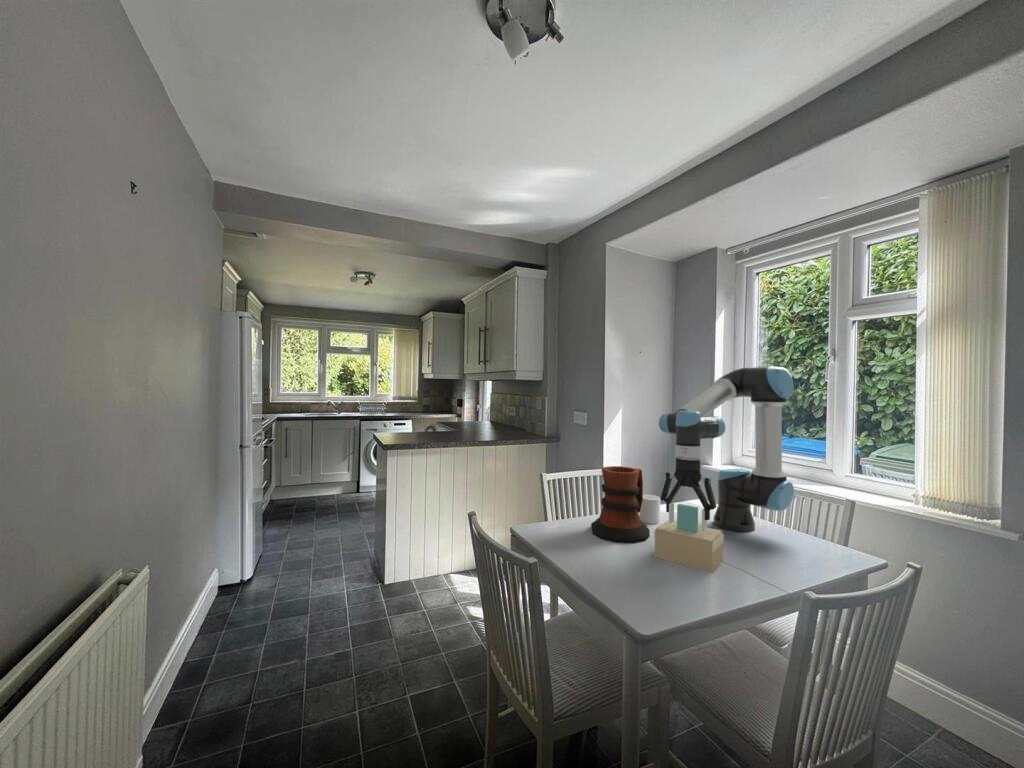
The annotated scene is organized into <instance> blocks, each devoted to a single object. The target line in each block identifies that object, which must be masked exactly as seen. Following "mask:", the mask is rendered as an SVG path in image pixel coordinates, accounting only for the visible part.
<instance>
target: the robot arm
mask: <svg viewBox="0 0 1024 768" xmlns="http://www.w3.org/2000/svg"><path fill="white" fill-rule="evenodd" d="M794 386H795V385H794V380H793V377H792V375H791V373H790V372H789V370H787V368H785V367H783V366H782V367H780V366H772V365H771V366H762V367H761V366H760V367H758V366H757V367H741V368H739V369H735V370H733V371H730V372H729V373H726V374H724V375H723V376H721V377H718V379H717V380H715V381H714V382H713V384H712V386H711V387H709V388H708V389H706V390H705V391H704V392H701V394H699V395H698V396H696V397H695V398H694V399H692V400H690V401H689V402H687V403H686V404H685V405H684V406H682V407H681V408H679V409H678V410H676V411H675V412H672V413H671V412H666V413H662V414H661V415H660V417H659V419H658V426H659V429H660V431H662V433H666V434H669V435H675V456H676V457H675V471H674V472H673V471H667V472H666V473H665V481H664V485H663V488H662V491H661V496H660V501H664V502H665V506H666V507H665V509H666V510H665V511H666V513H668V520H669V523H670V524H672V523H673V522H674V521H675V502H674V501H673V499H674V498H675V497H676V495H677V493H678V491H680V489H681V487H687V488H692V489H693V491H694V492H695V494H696V495H697V498H698V499H699V501H700V503H701V505H702V507H703V508H702V510H701V526H702V531H705V530H706V529H707V528H708V526H707V524H708V521H710V520H711V519H710V518H711V511H713V510H715V509H716V510H715V512H714V515H713V524H714V525H715V526H716V527H719V528H721V529H724V530H728V531H734V532H742V533H743V532H752V531H753V532H754V530H756V522H755V519H754V515H753V514H752V511H751V506H755V507H758V508H759V507H760V508H763V509H767V510H769V511H777V512H784V511H785V510H787V509H788V508H789V506H790V505H791V504H792V501H793V499H794V493H795V488H794V484H793V482H791V481H788V480H787V474H786V473H785V472H784V471H783V470H782V469H783V466H782V465H783V455H782V454H783V453H782V452H783V451H782V450H783V449H782V448H783V447H782V445H783V442H782V441H783V439H782V438H783V436H782V435H783V434H782V433H783V431H782V429H783V428H782V427H783V426H782V425H783V424H782V421H783V419H782V418H783V417H782V416H783V415H782V414H783V413H782V411H783V410H782V409H783V407H784V405H786V403H787V399H788V398H790V397H792V395H793V392H794V388H795V387H794ZM741 397H742V398H744V397H748V398H750V402H751V404H752V405H754V407H755V408H754V409H755V410H754V411H755V414H754V415H755V420H754V422H755V468H754V469H753V470H750V469H746V468H725V469H722V470H720V471H719V473H718V479H717V484H718V485H717V487H718V489H717V493H718V495H717V496H718V498H717V502H718V503H716V500H715V496H714V492H713V489H712V485H711V482H712V477H710V476H702V473H701V460H700V458H701V440H703V439H704V440H706V439H716V438H719V437H721V436H724V434H725V433H726V424H725V421H724V420H723V418H721V417H720V416H717V415H710V414H711V412H713V411H714V410H716V409H717V408H719V407H720V406H721V405H722V404H724V403H725V402H728V401H729V402H730V401H733V400H734V399H736V398H741ZM674 477H675V479H676V480H677V481H676V483H675V485H674V486H673V488H672V490H671V491H670V488H671V484H672V481H673V479H674ZM700 481H702V484H704V489H705V492H706V496H707V498H706V496H705V493H704V492H703V490H702V488H701V485H700ZM669 492H670V493H669ZM717 504H718V505H717Z"/></svg>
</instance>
